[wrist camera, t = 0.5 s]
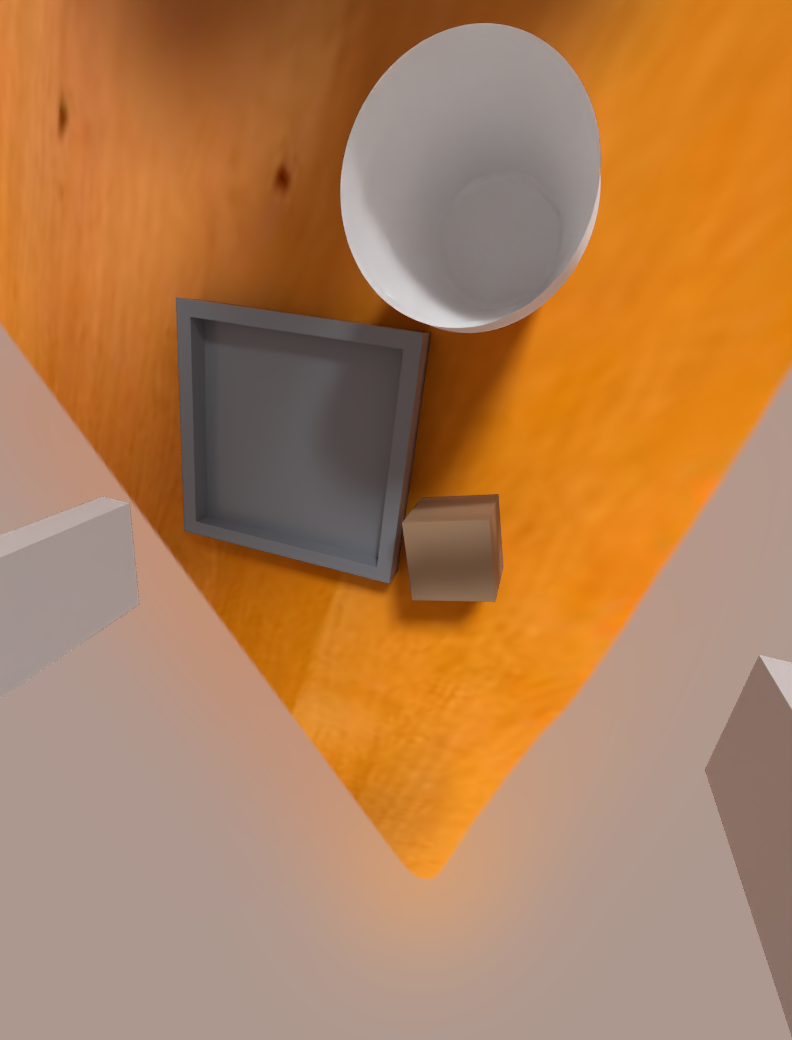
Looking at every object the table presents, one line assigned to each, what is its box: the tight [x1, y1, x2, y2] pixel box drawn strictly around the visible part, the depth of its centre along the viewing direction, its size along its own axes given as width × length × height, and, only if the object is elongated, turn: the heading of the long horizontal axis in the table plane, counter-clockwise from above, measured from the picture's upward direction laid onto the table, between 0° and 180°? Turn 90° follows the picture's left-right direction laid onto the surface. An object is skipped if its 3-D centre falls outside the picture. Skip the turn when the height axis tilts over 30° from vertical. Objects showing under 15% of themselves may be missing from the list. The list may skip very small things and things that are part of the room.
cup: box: [340, 23, 601, 333], centre depth 23 cm, size 9×9×12 cm
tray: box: [176, 298, 431, 583], centre depth 34 cm, size 16×16×2 cm
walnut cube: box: [402, 494, 503, 602], centre depth 32 cm, size 5×5×5 cm
